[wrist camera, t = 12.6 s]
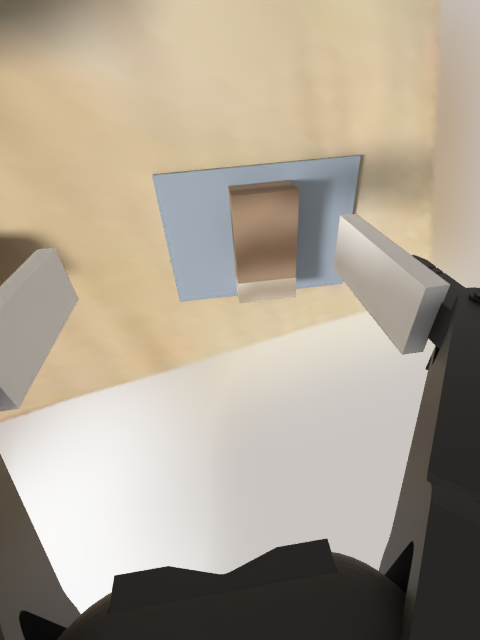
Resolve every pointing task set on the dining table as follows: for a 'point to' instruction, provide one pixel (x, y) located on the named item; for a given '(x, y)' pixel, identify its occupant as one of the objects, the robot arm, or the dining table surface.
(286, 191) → the brown block
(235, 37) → the dining table surface
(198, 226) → the slate mat
